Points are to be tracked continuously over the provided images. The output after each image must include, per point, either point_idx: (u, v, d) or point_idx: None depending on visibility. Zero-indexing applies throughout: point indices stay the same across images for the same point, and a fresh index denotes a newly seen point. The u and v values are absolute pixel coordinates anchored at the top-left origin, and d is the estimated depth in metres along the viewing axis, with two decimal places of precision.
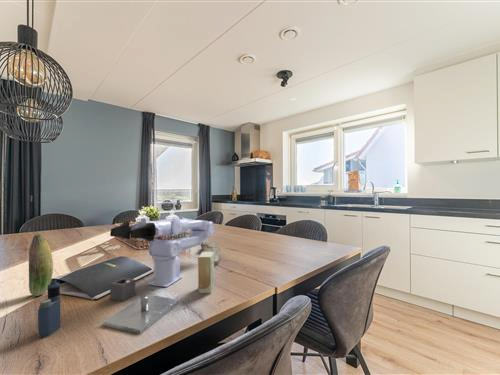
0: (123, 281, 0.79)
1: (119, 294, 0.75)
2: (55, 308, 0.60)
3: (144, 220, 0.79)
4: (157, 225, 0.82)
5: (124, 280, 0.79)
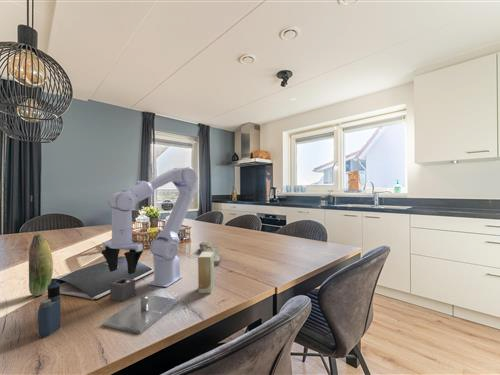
0: (123, 281, 0.79)
1: (119, 294, 0.75)
2: (55, 308, 0.60)
3: (114, 248, 0.74)
4: (124, 233, 0.75)
5: (124, 280, 0.79)
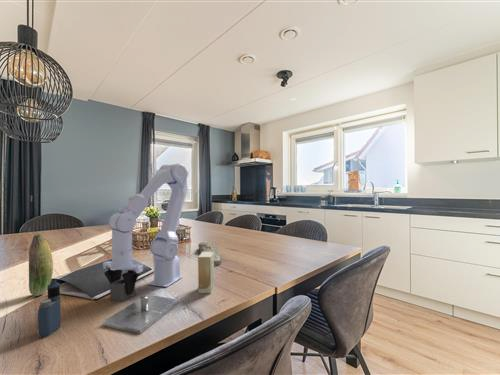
0: (123, 281, 0.79)
1: (119, 294, 0.75)
2: (55, 308, 0.60)
3: None
4: (124, 255, 0.75)
5: None
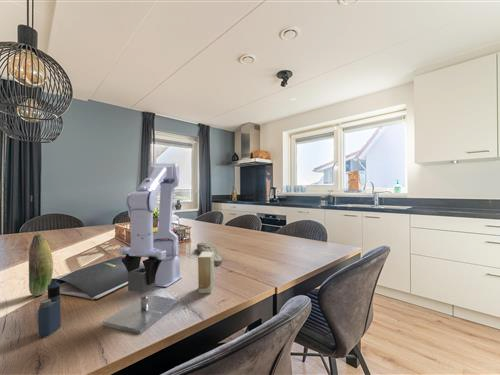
0: (142, 270, 0.70)
1: (139, 285, 0.65)
2: (55, 308, 0.60)
3: None
4: (145, 239, 0.66)
5: (143, 269, 0.70)
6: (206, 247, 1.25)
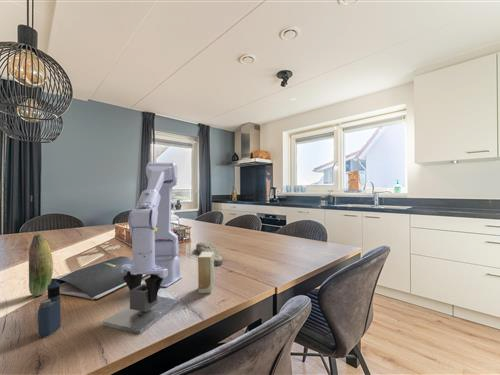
0: (144, 288, 0.69)
1: (141, 303, 0.65)
2: (55, 308, 0.60)
3: None
4: (147, 257, 0.65)
5: (145, 286, 0.69)
6: (206, 247, 1.25)
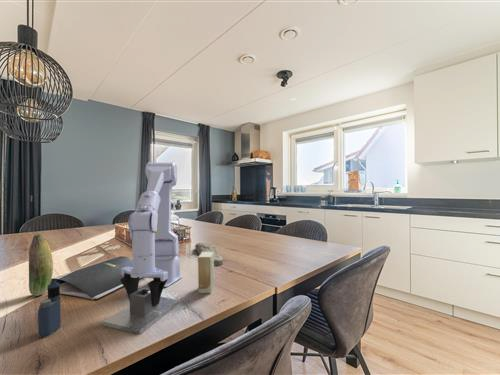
0: (144, 292, 0.69)
1: (141, 307, 0.65)
2: (55, 308, 0.60)
3: None
4: (147, 260, 0.65)
5: (145, 290, 0.69)
6: (205, 247, 1.25)
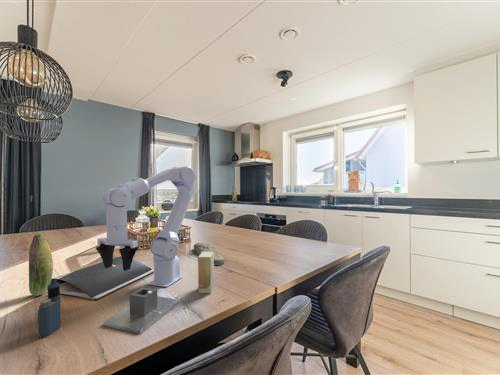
0: (144, 292, 0.69)
1: (141, 307, 0.65)
2: (55, 308, 0.60)
3: None
4: (119, 229, 0.75)
5: (145, 290, 0.69)
6: (205, 247, 1.25)
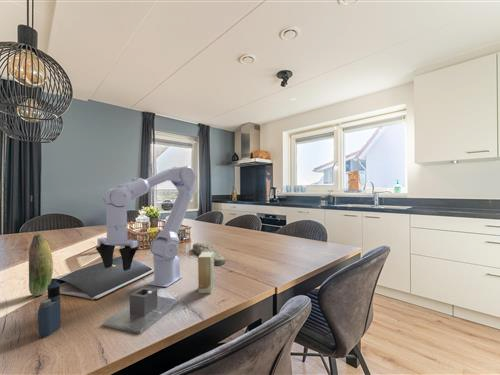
0: (144, 292, 0.69)
1: (141, 307, 0.65)
2: (55, 308, 0.60)
3: None
4: (119, 229, 0.75)
5: (145, 290, 0.69)
6: (204, 247, 1.25)
